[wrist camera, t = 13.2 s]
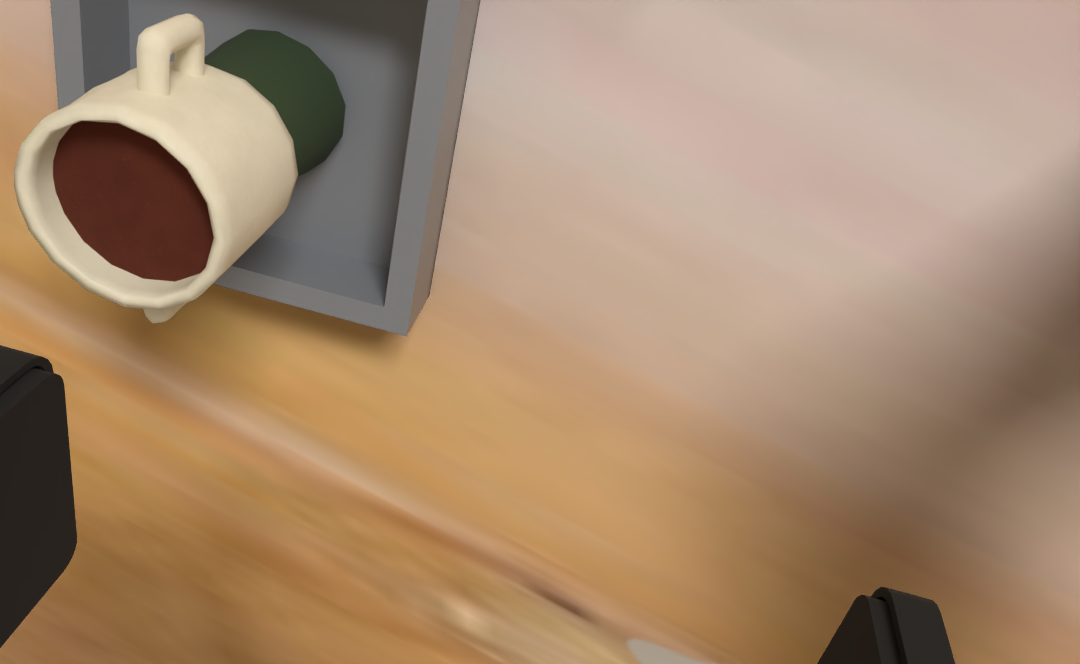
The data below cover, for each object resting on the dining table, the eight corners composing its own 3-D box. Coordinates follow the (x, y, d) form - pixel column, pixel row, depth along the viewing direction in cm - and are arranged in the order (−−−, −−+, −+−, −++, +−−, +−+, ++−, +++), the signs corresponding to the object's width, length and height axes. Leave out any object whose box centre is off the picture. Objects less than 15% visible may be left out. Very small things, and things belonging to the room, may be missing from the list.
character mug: (205, -52, 37) (-7, 13, 26) (373, -8, 37) (231, 76, 26) (202, 190, 43) (27, 327, 32) (347, 228, 43) (222, 381, 32)
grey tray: (488, -47, 36) (465, -31, 32) (429, 294, 44) (406, 336, 41) (102, -148, 36) (40, -142, 33) (116, 210, 45) (68, 244, 41)
